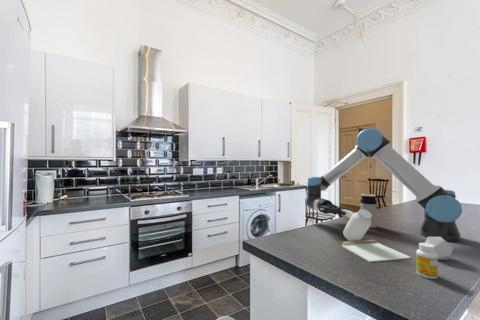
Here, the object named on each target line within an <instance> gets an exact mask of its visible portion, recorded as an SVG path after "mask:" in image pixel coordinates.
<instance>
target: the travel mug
mask: <svg viewBox="0 0 480 320" xmlns="http://www.w3.org/2000/svg"><path fill="white" fill-rule="evenodd" d="M360 196H361V199H360V209H365V210H367V211H369V212H370V213H371V215H372V218H371V219H370V220H371V225H370V227H369V228H368V229H374V228H377V221H378V220H377V217H378V216H377V212H378V211H377V203H378V202H377V199H376V197H377V195H376V194H371V193H361V194H360Z"/></svg>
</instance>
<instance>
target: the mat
mask: <svg viewBox="0 0 480 320" xmlns="http://www.w3.org/2000/svg"><path fill="white" fill-rule="evenodd" d="M341 247H342V248H343V249H345V250H347V251H349V252H351V253H352V254H355V255H356V256H357V257H359V258H362V259H363V260H364V261H367V262H368V263H374V262H376V263H377V262H388V261H389V262H390V261H398V260H400V261H401V260H411V259H412V257H411V256H410V255H407V254H405V253H403V252H400V251H397V250H396V249H393V248H391V247H388V246H386V245H384V244H381V243H380V242H376V243H366V244H352V245H342V244H341Z"/></svg>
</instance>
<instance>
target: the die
mask: <svg viewBox="0 0 480 320" xmlns="http://www.w3.org/2000/svg"><path fill="white" fill-rule="evenodd" d="M424 243H428V244H432V245H434V246H435V251H434V252H435V253H436V254H437V255H438V261H447V260H448V261H449V259H450V257H451V255H452V253H453V251H454V250H455V248H454V246H452V245H451V244H450V243H449V241H445V240H444V239H443V238H442V237H426V239H425V241H424Z"/></svg>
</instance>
